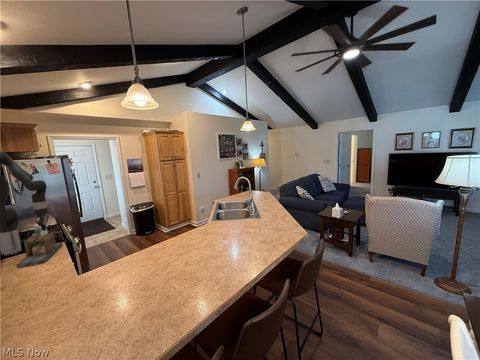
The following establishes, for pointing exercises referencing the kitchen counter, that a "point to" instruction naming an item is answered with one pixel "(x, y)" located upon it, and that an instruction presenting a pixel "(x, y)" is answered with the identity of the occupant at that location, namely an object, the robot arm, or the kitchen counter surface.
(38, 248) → the slider block
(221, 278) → the kitchen counter surface
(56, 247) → the tunnel
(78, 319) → the kitchen counter surface
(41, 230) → the syrup box
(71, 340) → the kitchen counter surface
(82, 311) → the kitchen counter surface
